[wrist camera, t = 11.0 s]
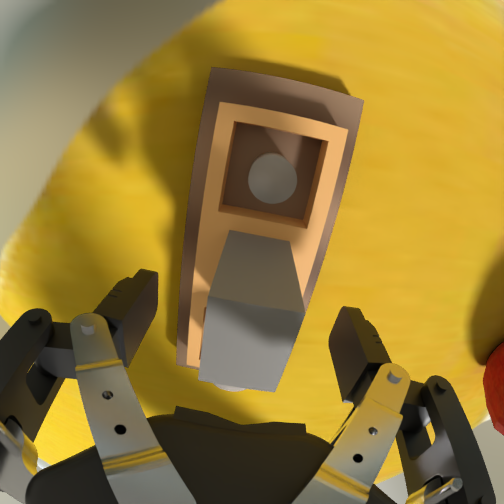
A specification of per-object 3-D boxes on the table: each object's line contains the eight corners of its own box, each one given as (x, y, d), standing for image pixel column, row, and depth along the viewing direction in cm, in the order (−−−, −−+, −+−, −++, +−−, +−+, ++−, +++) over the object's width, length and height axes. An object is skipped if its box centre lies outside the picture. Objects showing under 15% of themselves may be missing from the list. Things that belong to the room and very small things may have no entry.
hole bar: (272, 364, 19) (274, 454, 12) (190, 350, 19) (165, 437, 12) (340, 129, 13) (410, 130, 6) (224, 105, 13) (184, 76, 6)
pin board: (278, 369, 22) (280, 429, 16) (180, 352, 21) (161, 410, 16) (355, 102, 14) (402, 89, 8) (216, 73, 13) (190, 41, 8)
